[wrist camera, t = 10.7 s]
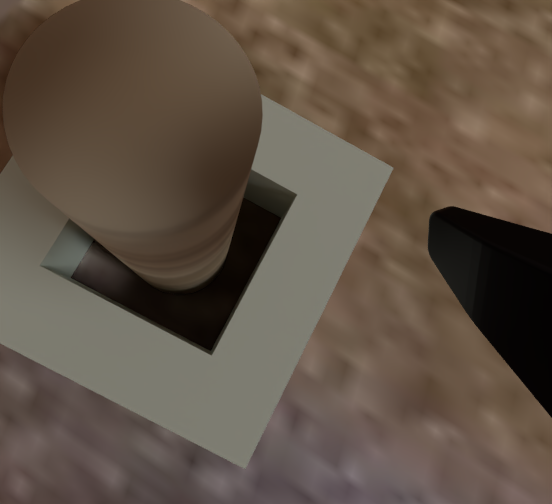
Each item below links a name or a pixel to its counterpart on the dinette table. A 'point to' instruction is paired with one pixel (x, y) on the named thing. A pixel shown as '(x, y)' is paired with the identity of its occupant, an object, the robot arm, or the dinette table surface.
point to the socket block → (243, 319)
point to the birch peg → (139, 131)
